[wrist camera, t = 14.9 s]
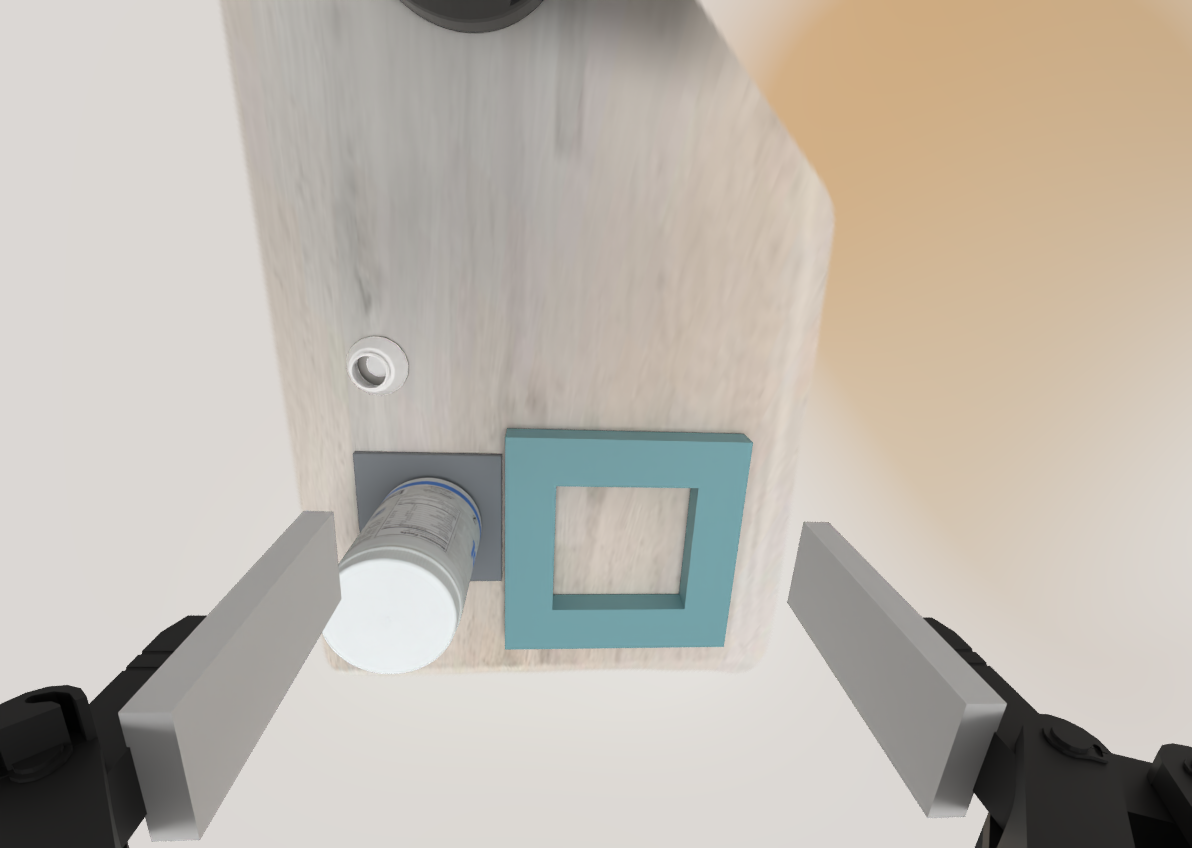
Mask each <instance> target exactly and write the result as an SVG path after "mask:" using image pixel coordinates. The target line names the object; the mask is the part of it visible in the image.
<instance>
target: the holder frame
mask: <svg viewBox="0 0 1192 848" xmlns="http://www.w3.org/2000/svg"><path fill="white" fill-rule="evenodd" d="M752 446H753V442H752V441H751V440H750V439H749V438H747V437H746V436H745V435H744V434H726V433H683V432H640V431H597V430H554V429H511V428H507V432H506V437H505V649H579V648H659V647H724V641H725V634H726V627H727V620H728V613H729V606H730V599H731V592H732V585H733V578H734V571H735V564H736V557H737V551H738V544H739V537H740V530H741V523H742V516H743V509H744V502H745V495H746V488H747V481H748V474H749V467H750V460H751V453H752ZM556 486H581V487H653V488H691V490H690V499H689V508H688V517H687V526H686V535H685V544H684V553H683V562H682V571H681V580H680V589H679V594H580V595H553V572H554V540H555V507H556Z"/></svg>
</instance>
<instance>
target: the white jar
mask: <svg viewBox="0 0 1192 848" xmlns="http://www.w3.org/2000/svg"><path fill="white" fill-rule="evenodd" d="M363 356H369V357H368V359H367V362H366V365H367V369H368V370H369V372H370V373H371V374H373V375H374V376H377V377H383V376H386V377H385V380H384V382H383V383H382V384H381V385H373V384H372V383H370V382H368V381H366V380H365V379H364V378H363V376H362V375H361V374H360V372H359V369H358V359H359V358H360V357H363ZM408 365H409V364H408V361H407V359H406V356H405V353H404V352H403V351H402V350H401V348H400V347H399V346H398V345H397V344H396V343H394V342H392V341H391V340H389V339H387V338H384V337H377V336H371V337H367V338H363V339H361V340H359V341H358V342H357V343H355V344H354V345H353V346H352V347H351V348H350V350H349V352H348V354H347V357H346V369H347V372H348V374H349V377H350V380H351V381H352V382H353V383H354V384H355V385H356V386H357V387H358V388H359V389H361V390H363V391H364V392H366V393H368V394H372V395H380V396H383V395H387V394H391V393H393V392H395V391H396V390H397V389H399V388H400V387H401V386H402V385H403V384H404V382H405V380H406V378H407V376H408Z"/></svg>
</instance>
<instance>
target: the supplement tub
mask: <svg viewBox="0 0 1192 848" xmlns="http://www.w3.org/2000/svg"><path fill="white" fill-rule="evenodd" d="M481 532H482V525H481V517H480V513H479V510H478V508H477V506H476V504H475V502H474V501H473V499H472V498H471V497H470V496H469V495H468V494H467V493H466V492H465V491H464V490H463V489H461V488H460V487H458V486H457V485H455V484H453V483H451V482H448V481H445V480H442V479H437V478H419V479H414V480H410V481H407V482H405V483H403V484H401V485H399V486H397V487H396V488H394V489H393V490H392V491H391V492H390V493H389V494H388V495H387V496H386V497H385V499H384V500H383V501H382V503H381V504H380V505H379V507H378V508H377V510H376V511H375V513H374V514H373V515H372V517H371V518H370V520H369V521H368V523H367V524H366V525H365V527H364V528H363V530H362V531H361V533H360V534H359V535H358V537H357V538H356V540H355V541H354V543H353V544H352V546H351V547H350V548H349V550H348V551H347V553H346V554H345V556H344V557H343V559H342V560H341V561H340V563H339V564H338V566H339V577H340V587H341V598H342V599H341V601H340V603H339V604H338V606H337V608H336V609H335V611H334V613H333V615H332V616H331V618H330V620H329V621H328V623H327V625H326V626H325V628H324V630H323V632H322V634H323V636H324V638H325V640H326V642H327V643H328V645H329V646H330V647H331V648H332V650H333V651H334V652H335V653H336V654H337V655H338V656H340V657H341V658H342V659H344V660H345V661H346V662H348V663H350V664H351V665H354V666H356V667H358V668H360V669H363V670H366V671H370V672H374V673H380V674H401V673H407V672H411V671H414V670H418V669H420V668H422V667H424V666H426V665H428V664H430V663H432V662H433V661H434V660H436V659H437V658H438V657H439V656H440V655H441V654H442V653H443V652H444V651H445V650H446V649H447V647H448V646H449V644H450V643H451V641H452V639H453V637H454V634H455V632H456V630H457V627H458V625H459V622H460V619H461V615H462V611H463V607H464V604H465V599H466V595H467V591H468V587H469V583H470V579H471V575H472V571H473V567H474V562H475V558H476V554H477V550H478V546H479V542H480V537H481Z"/></svg>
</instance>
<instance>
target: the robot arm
mask: <svg viewBox="0 0 1192 848" xmlns="http://www.w3.org/2000/svg"><path fill="white" fill-rule="evenodd" d="M400 1H401V2H402V3H404V4H405V5H406V6H407V7H408V8H410V9H411V10H412V11H413V12H415V13H416V14H418V15H419V16H421V17H423V18H424V19H426V20H428V21H430V22H432V23H434V24H436V25H439V26H441V27H444V28H448V29H451V30H456V31H461V32H473V33H476V32H488V31H493V30H498V29H501V28H504V27H507V26H509V25H511V24H513V23H515V22H517V21H519V20H521V19H522V18H524V17H525V16H527V15H528V14H529V13H531V12H532V11H533V10H534V9H535V8H536V7H537V6H538V5H539V4H540V3H541V2H542V1H543V0H400ZM341 599H342V598H341V587H340V577H339V566H338V555H337V545H336V534H335V523H334V513H333V512H324V511H303V512H302V513H301V514H300V516H299V517H298V518H297V519H296V520H295V521H294V522H293V523H292V524H291V525H290V526H289V527H288V529H287V530H286V531H285V532H284V533H283V534H282V535H281V536H280V537H279V538H278V539H277V541H276V542H275V543H274V544H273V545H272V546H271V547H270V548H269V549H268V550H267V551H266V553H265V554H264V555H263V556H262V557H261V558H260V559H259V560H258V561H257V562H256V563H255V564H254V565H253V567H252V568H251V569H250V570H249V571H248V572H247V573H246V574H245V575H244V576H243V578H242V579H241V580H240V581H239V582H238V583H237V584H236V585H235V586H234V587H233V588H232V589H231V591H230V592H229V593H228V594H227V595H226V596H225V597H224V598H223V599H222V600H221V601H220V602H219V604H218V605H217V606H216V607H215V608H214V609H213V610H212V611H211V612H210V613H209V614H208V615H207V616H187V617H185V618H183V619H182V620H180V621H178V622H177V623H175V624H174V625H172V626H170V627H169V628H167V629H166V630H164V631H162V632H161V633H160V634H159V635H158V636H157V637H156V638H155V639H154V640H153V641H152V642H151V643H150V644H149V645H148V646H147V647H146V648H145V649H144V650H143V651H142V654H141V655H138V656H137V657H136V658H135V659H134V660H133V661H132V662H131V663H130V664H129V665H128V666H127V667H126V670H125V671H122V672H121V673H120V674H119V675H118V676H117V677H116V678H115V679H114V680H113V681H112V682H111V683H110V684H109V685H108V686H107V687H106V688H105V689H104V690H103V691H102V692H101V693H100V694H99V695H98V696H97V697H96V698H95V699H94V700H93V701H92V702H91V703H90V704H88V700H87V697H86V695H85V694H84V692H83V691H82V690H81V688H77V687H73V686H69V685H63V686H51V687H45V688H42V689H38V690H35V691H31V692H27V693H24V694H22V695H20V696H18V697H15V698H13V699H11V700H9V701H6V702H4V703H2V704H0V848H129V846H128V842H127V841H128V840H129V838H130V837H131V836H132V834H133V833H134V831H135V830H136V829H137V827H138V826H139V824H140V823H141V822H142V820H143V819H144V817H145V818H146V822H147V826H148V830H149V833H150V837H151V841H152V842H153V841H185V840H200V839H201V837H202V836H203V834H204V832H205V830H206V829H207V827H208V825H209V824H210V822H211V820H212V818H213V817H214V815H215V813H216V812H217V810H218V808H219V807H220V805H221V803H222V801H223V800H224V798H225V796H226V795H227V793H228V791H229V790H230V788H231V786H232V785H233V783H234V781H235V779H236V778H237V776H238V774H239V773H240V771H241V769H242V767H243V766H244V764H245V762H246V761H247V759H248V757H249V756H250V754H251V752H252V750H253V749H254V747H255V745H256V744H257V742H258V740H259V739H260V737H261V735H262V734H263V732H264V730H265V728H266V727H267V725H268V723H269V722H270V720H271V718H272V717H273V715H274V713H275V711H276V710H277V708H278V706H279V704H280V703H281V701H282V700H283V698H284V696H285V694H286V693H287V691H288V689H289V688H290V686H291V684H292V683H293V681H294V679H295V677H296V676H297V674H298V672H299V671H300V669H301V667H302V665H303V664H304V662H305V660H306V659H307V657H308V655H309V654H310V652H311V650H312V649H313V647H314V645H315V643H316V642H317V640H318V638H319V637H320V635H321V633H322V632H323V630H324V628H325V626H326V625H327V623H328V621H329V620H330V618H331V616H332V615H333V613H334V611H335V609H336V608H337V606H338V604H339V603H340V601H341ZM787 603H788V604H789V606H790V607H791V609H792V610H793V612H794V613H795V615H796V617H797V618H798V620H799V621H800V623H801V624H802V626H803V627H804V629H805V630H806V632H807V633H808V635H809V637H810V638H811V640H812V641H813V643H814V644H815V646H816V647H817V649H818V650H819V652H820V653H821V655H822V656H823V658H824V659H825V661H826V663H827V664H828V666H829V667H830V669H831V670H832V672H833V673H834V675H835V677H836V678H837V679H838V681H839V683H840V684H841V686H842V687H843V689H844V690H845V692H846V693H847V695H848V696H849V698H850V700H851V701H852V703H853V704H854V706H855V707H856V709H857V710H858V712H859V713H860V715H861V717H862V718H863V720H864V721H865V722H866V724H867V725H868V727H869V729H870V730H871V732H872V733H873V735H874V737H875V738H876V739H877V741H878V743H879V744H880V746H881V747H882V749H883V750H884V752H885V753H886V755H887V757H888V758H889V760H890V761H891V762H892V764H893V766H894V767H895V769H896V770H897V772H898V773H899V775H900V777H901V778H902V780H903V781H904V783H905V784H906V786H907V787H908V789H909V790H910V792H911V793H912V795H913V797H914V798H915V800H916V801H917V803H918V804H919V806H920V807H921V809H922V810H923V812H924V813H925V815H926V816H927V818H942V817H965V815H966V812H967V810H968V807H969V804H970V802H971V799H972V796H973V794H974V793H975V794H976V796H977V797H978V798H979V800H980V801H981V802H982V804H983V805H984V806H985V808H986V809H987V810H988V811H989V813H988V815H987V818H986V821H985V823H984V826H983V828H982V831H981V833H980V836H979V838H978V841H977V843H976V846H975V848H1192V747H1189V746H1183V745H1178V744H1166V745H1162V746H1161V748H1160V750H1159V751H1158V753H1157V755H1156V757H1155V759H1154V761H1153V763H1150V762H1146V761H1141V760H1137V759H1133V758H1129V757H1125V756H1120V755H1116V754H1112V753H1111V752H1110V751H1109V750H1108V749H1107V748H1106V747H1105V746H1104V745H1103V744H1102V743H1101V742H1100V741H1099V740H1098V739H1097V738H1095V737H1094V736H1092V735H1091V734H1089V733H1088V732H1087V731H1085V730H1084V729H1083V728H1081V727H1079V726H1076V725H1075V724H1072V723H1071V722H1069V721H1066V720H1064V719H1061V718H1058V717H1055V716H1052V715H1048V714H1039V713H1037V711H1036V710H1035V709H1033V707H1032V706H1030V705H1029V704H1028V703H1027V702H1026V701H1025V700H1024V699H1023V698H1022V697H1021V696H1020V695H1019V694H1018V693H1017V692H1016V691H1015V690H1014V689H1013V688H1012V687H1011V686H1010V685H1009V684H1008V683H1007V682H1006V681H1005V680H1004V679H1003V678H1002V677H1001V676H1000V675H999V674H998V673H997V672H995V671H994V670H993V669H992V668H991V667H990V666H987V665H986V662H985V661H984V660H983V659H982V658H981V657H980V656H979V655H978V654H977V653H976V652H973V651H972V648H971V647H970V646H969V645H968V644H967V643H966V642H964V640H963V639H962V638H960V637H959V636H958V635H957V634H956V633H955V632H954V631H952V630H951V629H949V628H948V627H946V626H944V625H943V624H941V623H940V622H938V621H937V620H935V619H933V618H922V617H921V616H920V615H919V614H918V613H917V611H916V610H915V609H914V608H913V607H911V605H910V604H909V603H908V602H907V601H906V600H905V599H904V598H903V597H902V596H901V595H900V594H899V593H898V592H897V591H896V590H895V589H894V588H893V587H892V586H891V585H890V584H889V583H888V582H887V581H886V580H885V579H884V578H883V577H882V576H881V575H880V574H879V573H878V572H877V571H876V570H875V569H874V568H873V567H872V566H871V565H870V564H869V563H868V562H867V561H866V560H865V559H864V558H863V557H862V556H861V555H860V554H859V553H858V551H857V550H856V549H855V548H854V547H853V546H852V545H851V544H850V543H848V541H847V540H846V539H845V538H844V537H843V536H842V535H841V534H840V533H839V532H838V531H837V530H836V529H835V528H834V527H833V526H832V525H831V524H830V523H829V522H804V523H803V527H802V532H801V537H800V542H799V547H798V552H797V557H796V562H795V567H794V572H793V577H792V582H791V587H790V592H789V596H788V602H787Z"/></svg>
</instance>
